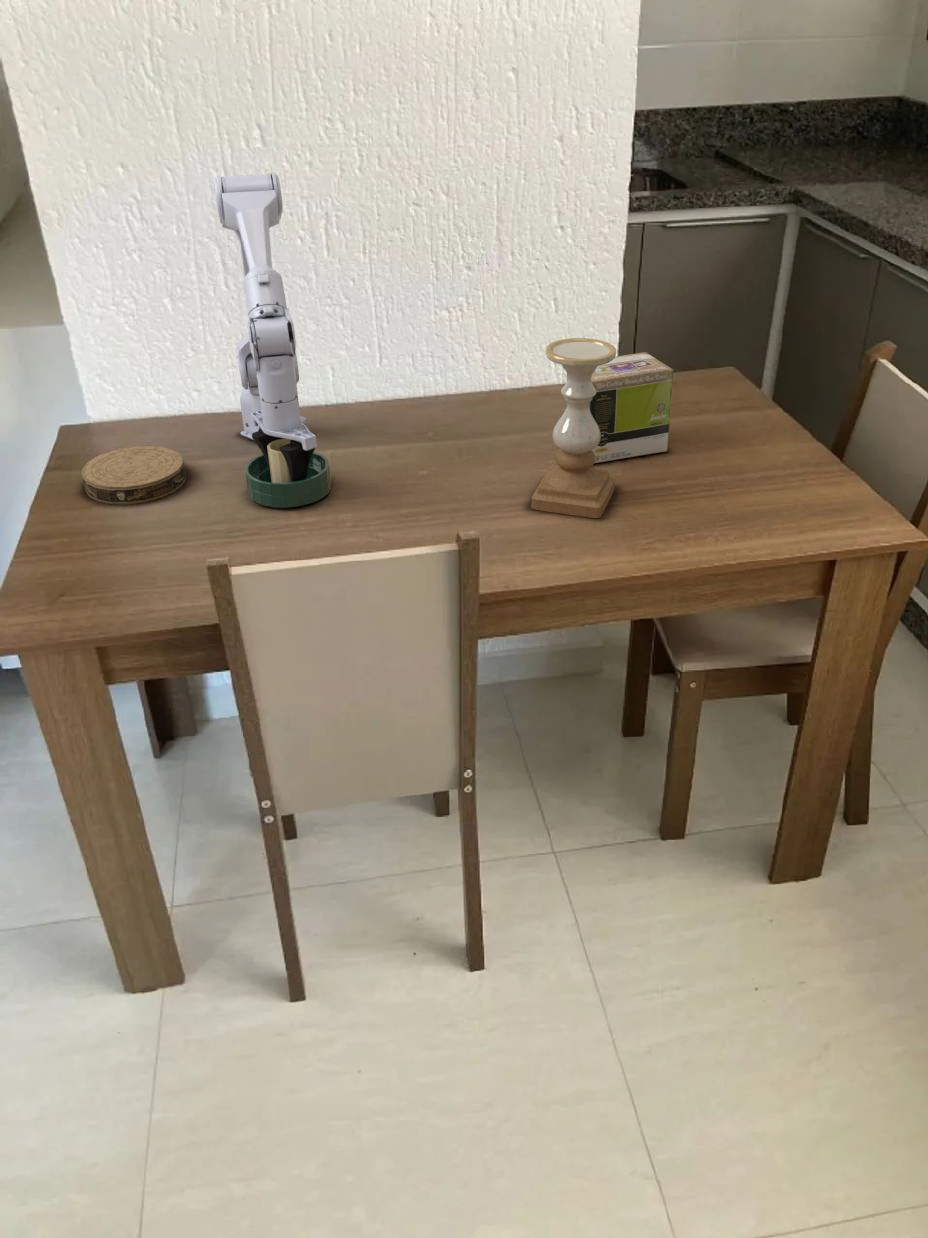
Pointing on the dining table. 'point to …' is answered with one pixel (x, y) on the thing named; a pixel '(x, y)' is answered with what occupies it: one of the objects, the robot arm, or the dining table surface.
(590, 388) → the candle holder
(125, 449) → the round wood slice
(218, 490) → the dining table surface
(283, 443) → the cup
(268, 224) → the robot arm
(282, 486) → the bowl
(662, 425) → the tea box
